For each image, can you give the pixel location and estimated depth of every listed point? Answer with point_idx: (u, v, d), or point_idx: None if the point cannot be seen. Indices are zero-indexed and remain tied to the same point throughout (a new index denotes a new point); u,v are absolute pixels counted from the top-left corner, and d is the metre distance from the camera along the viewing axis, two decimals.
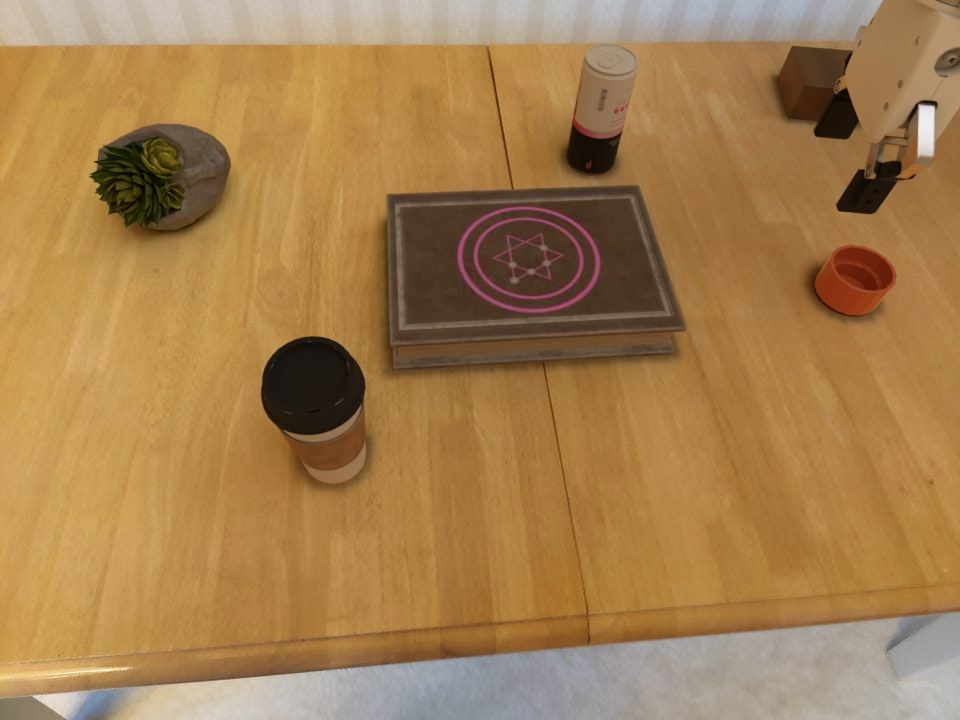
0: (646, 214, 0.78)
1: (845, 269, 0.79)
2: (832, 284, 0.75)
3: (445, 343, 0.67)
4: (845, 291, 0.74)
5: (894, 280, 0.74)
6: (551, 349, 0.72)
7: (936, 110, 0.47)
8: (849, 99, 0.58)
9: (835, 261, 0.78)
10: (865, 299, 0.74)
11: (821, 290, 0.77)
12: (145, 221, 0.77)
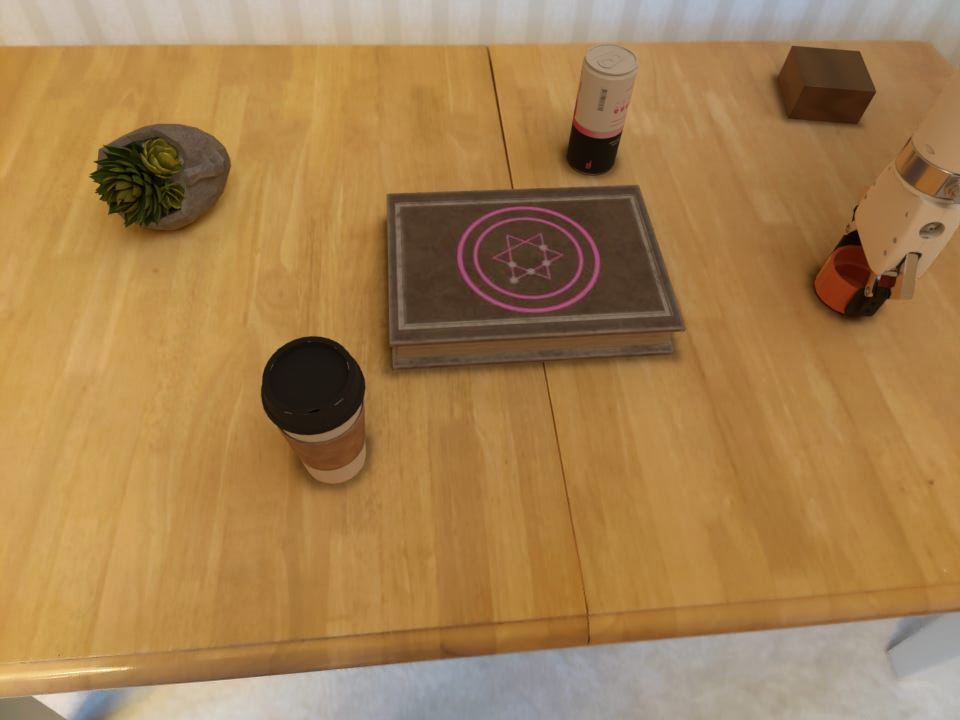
0: (646, 214, 0.78)
1: (845, 269, 0.79)
2: (832, 284, 0.75)
3: (445, 342, 0.67)
4: (845, 291, 0.74)
5: None
6: (551, 349, 0.72)
7: (921, 258, 0.66)
8: (857, 238, 0.77)
9: (835, 261, 0.78)
10: None
11: (821, 290, 0.77)
12: (145, 221, 0.77)
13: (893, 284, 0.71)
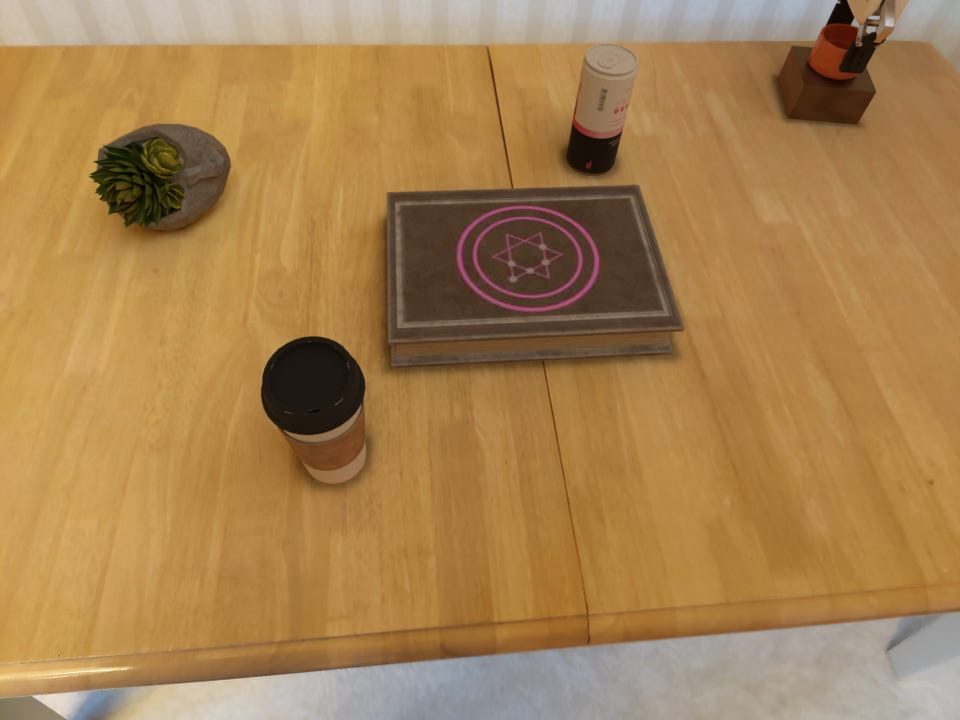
0: (646, 214, 0.78)
1: None
2: (822, 51, 0.92)
3: (443, 341, 0.67)
4: (833, 54, 0.91)
5: None
6: (549, 348, 0.72)
7: (896, 0, 0.82)
8: (846, 5, 0.93)
9: None
10: None
11: (813, 60, 0.94)
12: (145, 221, 0.77)
13: None
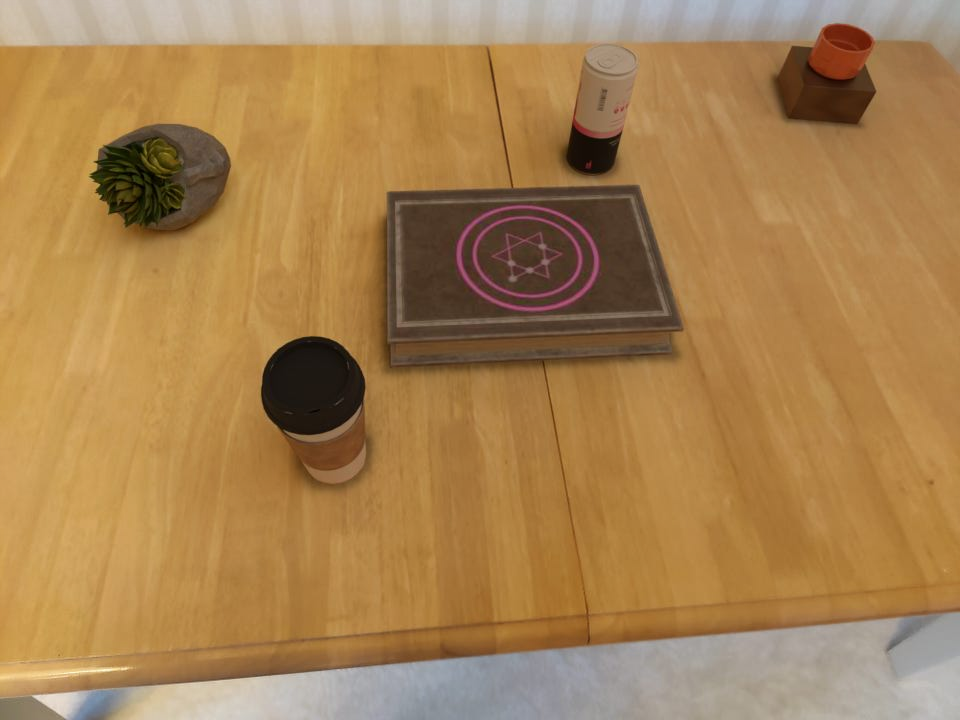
0: (646, 214, 0.78)
1: None
2: (822, 51, 0.92)
3: (443, 340, 0.67)
4: (833, 54, 0.91)
5: (872, 45, 0.91)
6: (549, 348, 0.72)
7: None
8: None
9: None
10: (849, 60, 0.91)
11: (813, 60, 0.94)
12: (145, 221, 0.77)
13: None
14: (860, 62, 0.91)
